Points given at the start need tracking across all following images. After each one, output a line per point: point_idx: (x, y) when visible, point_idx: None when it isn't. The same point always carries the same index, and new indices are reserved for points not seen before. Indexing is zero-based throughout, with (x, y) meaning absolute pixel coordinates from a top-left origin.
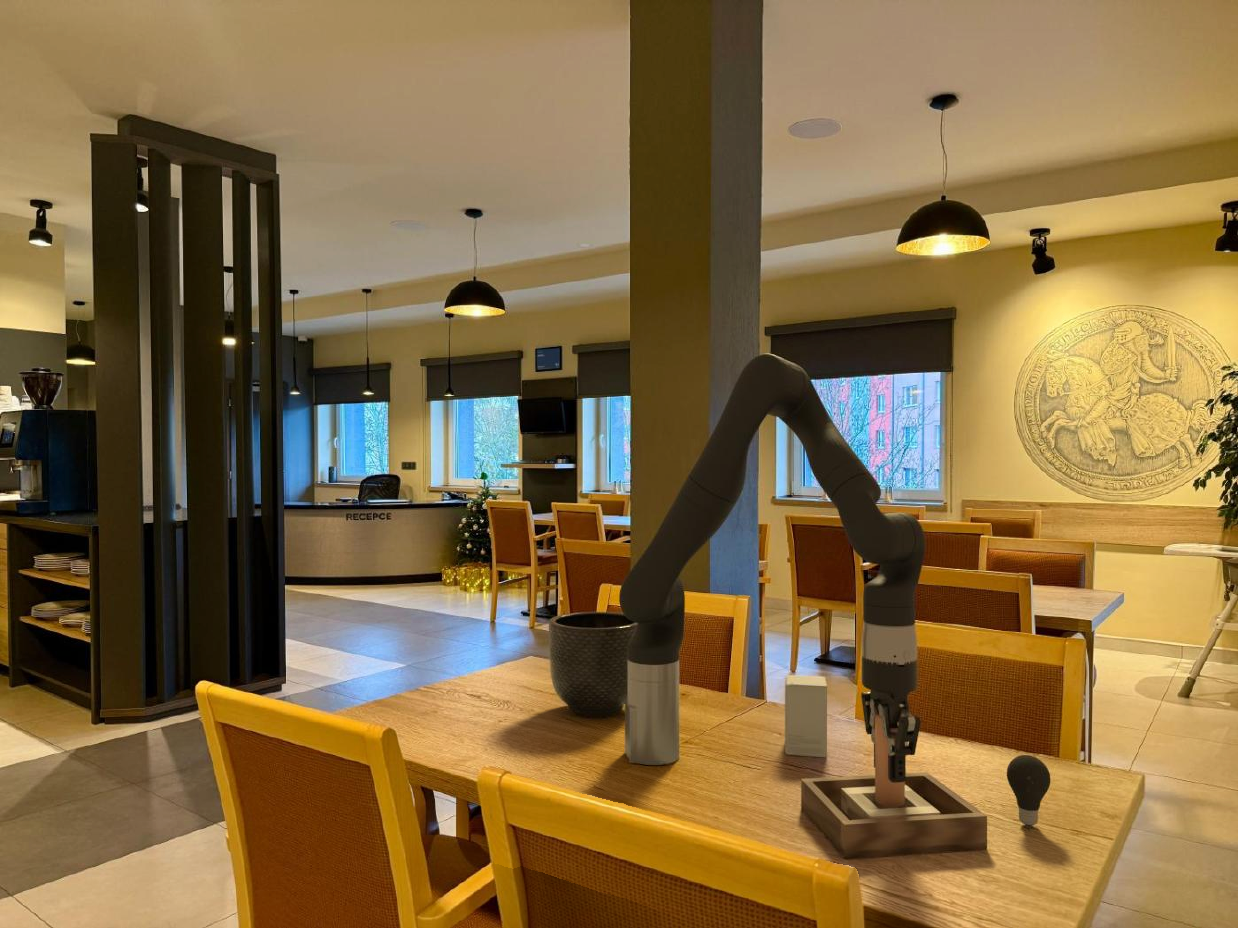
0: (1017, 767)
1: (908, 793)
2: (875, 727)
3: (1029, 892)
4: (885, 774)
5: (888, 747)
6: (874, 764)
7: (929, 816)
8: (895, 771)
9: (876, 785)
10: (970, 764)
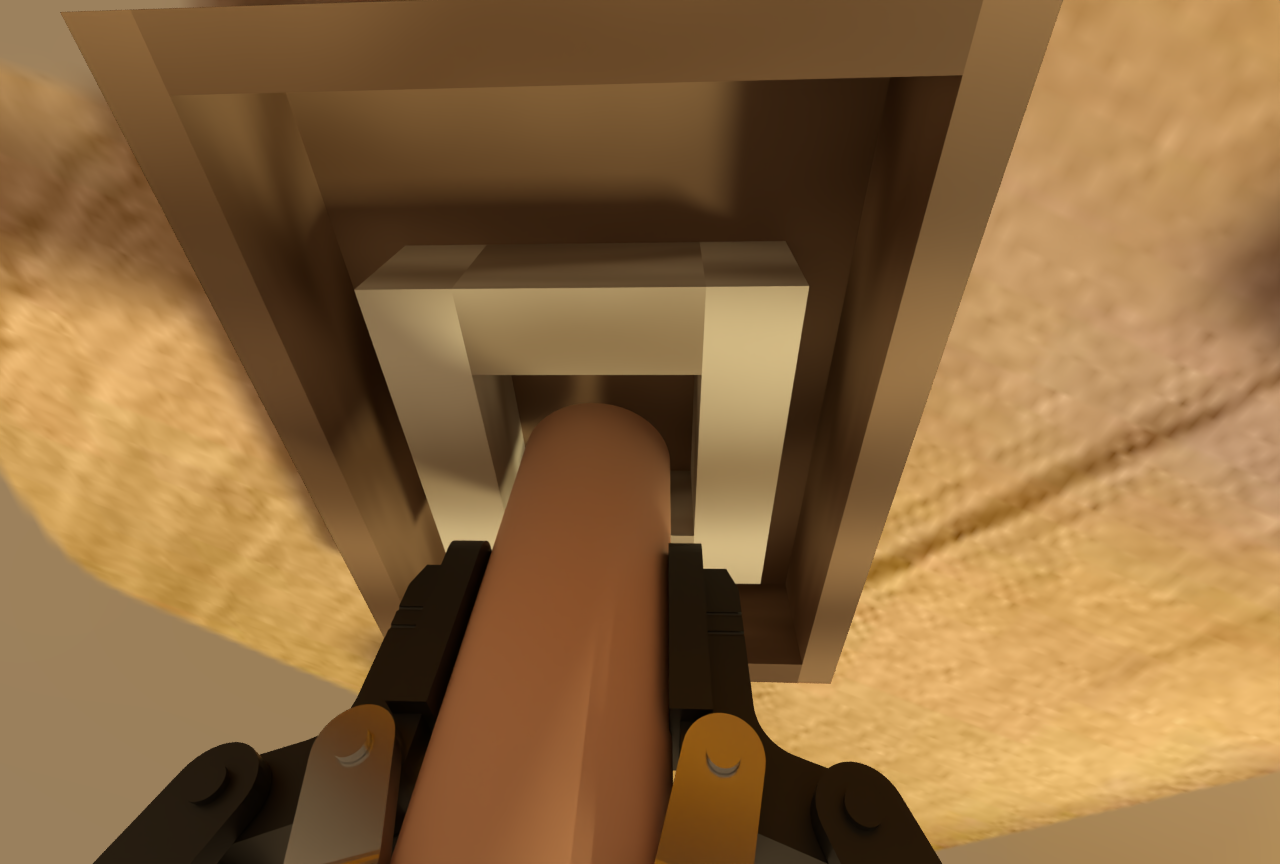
0: None
1: None
2: None
3: (187, 552)
4: (499, 550)
5: (384, 768)
6: (695, 559)
7: (360, 531)
8: (400, 611)
9: (579, 460)
10: (1007, 754)
